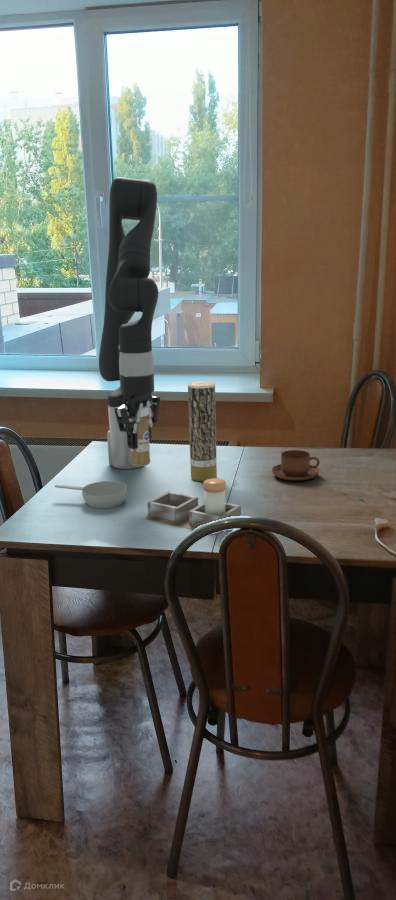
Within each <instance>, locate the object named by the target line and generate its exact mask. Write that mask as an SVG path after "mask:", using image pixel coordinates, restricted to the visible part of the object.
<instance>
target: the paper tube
mask: <svg viewBox="0 0 396 900" xmlns="http://www.w3.org/2000/svg"><path fill="white" fill-rule="evenodd" d="M215 383H216V382H214V381H208V380H207V381H206V380H205V381H203V380H202V381H199V380H198V381H191V382H188V384H187V396H188V397H187V400H188V403H187V405H188V431H189V432H188V433H189V458H190V459H189V462H190V463H189V464H190V478H191V479H192V480H193V481H195V482H203V483H204V481H205V480H207V479H213V478H217V475H218V474H217V473H218V471H217V469H218V468H217V463H218V462H217V461H218V460H217V458H218V457H217V419H216V417H217V416H216V413H217V412H216V385H215Z"/></svg>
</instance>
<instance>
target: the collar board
mask: <svg viewBox="0 0 396 900" xmlns="http://www.w3.org/2000/svg"><path fill="white" fill-rule="evenodd" d="M146 505H147V515H145V516H144V517H143V519H144V520H148V521H149V520H150V521H152V522H153V521H154V522H159V523H162V524H165V525H171V526H176V527H180V528H183V529H188V530H192V531H195V530H194V529H195V528H197V527H198V526H200V525H203V524H206V523H209V522H212V521H216V520H219V519H222V518H226V517H231V516H240V515H242V506H241V505H239V504H234V503H228V502H225V514H223V515H221V516H216V515H212V514H207V513H205V501H204V502H202V503H201V504H199V496H193V495H189V494H184V493H179V492H174V491H170V490H168V491H166V492H164V493H163V494H161V495H159V496H157V497H154V498H153V499H151V500H150V501H147V503H146ZM220 533H222V532H219V533H215V534H212V535H215V536H217V535H219V534H220Z"/></svg>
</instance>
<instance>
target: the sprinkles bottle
mask: <svg viewBox="0 0 396 900" xmlns="http://www.w3.org/2000/svg"><path fill="white" fill-rule="evenodd" d="M148 415H149V408H148V407H145V406H144V407H143V409H142V410H141V411H140V422H139V423H138V425H137V432H136V433H137V442H138V448H137V449H130V450H131V464H132V465H135V466H141V467H143V466H147V465H150V463H151V458H150V457H151V456H150V454H151V453H150V448H151V446H150V444H151V443H149V426H148ZM130 419H135V417H132V416H130ZM132 425H133V423H132V422H131V428H132Z"/></svg>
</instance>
